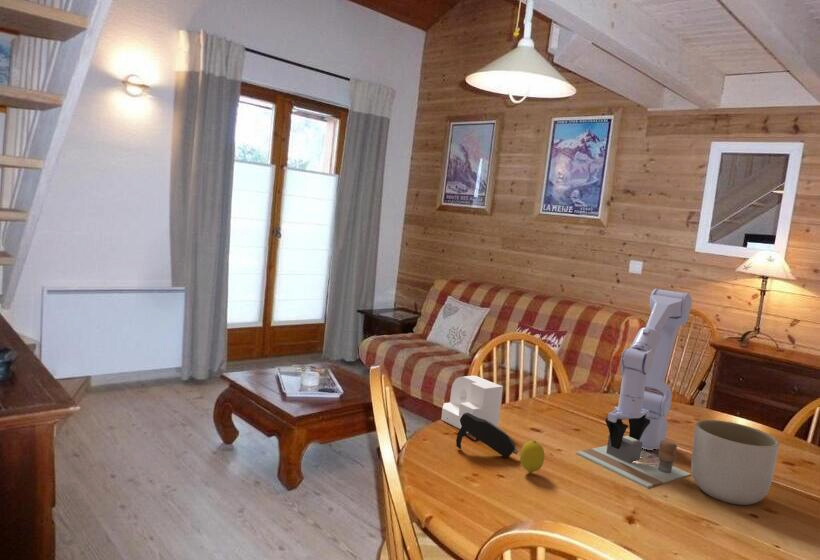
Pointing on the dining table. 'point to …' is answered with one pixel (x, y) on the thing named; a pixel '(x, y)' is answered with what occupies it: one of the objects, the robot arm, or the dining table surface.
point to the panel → (632, 468)
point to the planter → (733, 461)
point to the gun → (485, 434)
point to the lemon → (532, 456)
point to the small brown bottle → (666, 456)
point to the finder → (626, 449)
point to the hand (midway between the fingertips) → (624, 445)
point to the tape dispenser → (473, 400)
